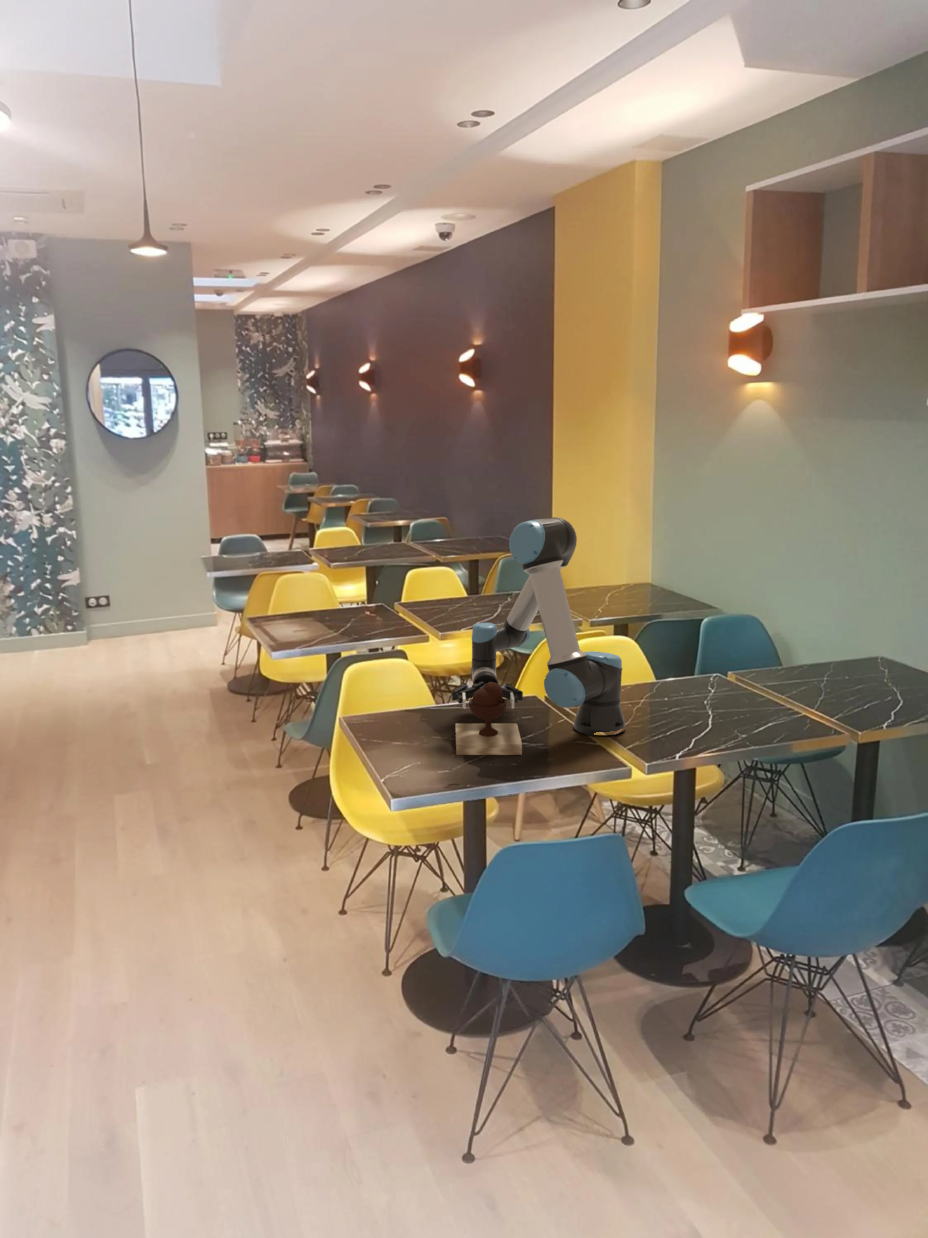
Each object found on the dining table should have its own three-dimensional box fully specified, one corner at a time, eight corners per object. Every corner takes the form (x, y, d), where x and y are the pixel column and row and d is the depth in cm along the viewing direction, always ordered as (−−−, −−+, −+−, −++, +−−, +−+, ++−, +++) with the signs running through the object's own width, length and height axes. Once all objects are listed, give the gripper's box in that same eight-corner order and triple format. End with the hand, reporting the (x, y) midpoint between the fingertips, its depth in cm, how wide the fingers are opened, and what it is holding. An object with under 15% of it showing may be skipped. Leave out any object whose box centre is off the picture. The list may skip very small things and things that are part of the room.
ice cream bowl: (493, 724, 286) (492, 674, 283) (514, 735, 277) (514, 684, 273) (462, 731, 281) (461, 681, 277) (483, 742, 271) (482, 690, 268)
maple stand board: (516, 733, 288) (516, 723, 288) (521, 754, 271) (522, 744, 270) (455, 733, 288) (455, 723, 287) (456, 754, 270) (456, 744, 270)
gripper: (526, 694, 295) (533, 716, 274) (443, 694, 295) (443, 717, 274) (527, 670, 294) (533, 691, 273) (443, 670, 293) (443, 691, 272)
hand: (488, 704), depth 273 cm, fingers open, 13 cm apart
